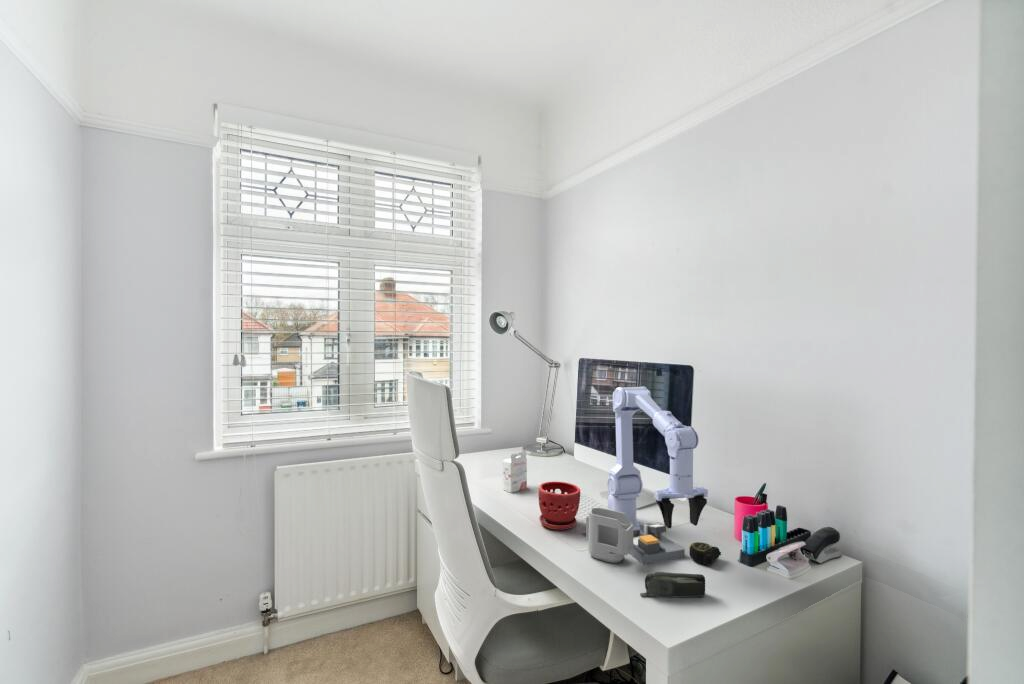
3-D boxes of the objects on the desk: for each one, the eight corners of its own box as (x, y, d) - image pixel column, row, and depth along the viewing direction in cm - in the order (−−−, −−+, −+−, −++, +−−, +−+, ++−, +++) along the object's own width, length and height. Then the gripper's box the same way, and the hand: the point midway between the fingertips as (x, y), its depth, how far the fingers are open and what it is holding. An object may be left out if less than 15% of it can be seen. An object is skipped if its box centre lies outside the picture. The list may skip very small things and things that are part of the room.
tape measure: (710, 570, 119) (710, 555, 119) (684, 560, 124) (684, 546, 124) (721, 561, 124) (721, 546, 124) (695, 552, 129) (695, 538, 129)
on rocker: (640, 530, 138) (639, 523, 138) (650, 528, 139) (649, 522, 139) (656, 533, 130) (655, 526, 131) (666, 531, 132) (665, 525, 132)
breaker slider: (638, 547, 126) (638, 536, 126) (650, 545, 128) (650, 534, 128) (646, 554, 123) (646, 542, 123) (659, 552, 124) (659, 540, 124)
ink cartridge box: (518, 485, 186) (518, 448, 186) (527, 488, 183) (527, 451, 183) (502, 490, 181) (502, 452, 180) (510, 493, 177) (511, 454, 177)
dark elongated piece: (702, 571, 109) (638, 570, 108) (707, 578, 106) (642, 576, 105) (701, 592, 109) (637, 591, 108) (707, 599, 106) (641, 598, 105)
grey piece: (626, 569, 119) (626, 522, 119) (582, 556, 126) (582, 511, 126) (635, 558, 125) (635, 514, 124) (592, 547, 131) (592, 504, 131)
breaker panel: (608, 537, 138) (608, 520, 138) (647, 531, 142) (647, 514, 142) (642, 564, 122) (642, 544, 122) (684, 556, 126) (684, 537, 126)
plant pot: (548, 535, 139) (548, 495, 139) (532, 519, 151) (532, 482, 151) (587, 530, 143) (587, 491, 143) (569, 514, 156) (569, 479, 155)
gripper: (664, 480, 116) (664, 534, 116) (715, 476, 120) (715, 529, 120) (650, 472, 123) (649, 523, 123) (698, 468, 126) (697, 518, 127)
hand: (680, 525), depth 122 cm, fingers open, 7 cm apart
